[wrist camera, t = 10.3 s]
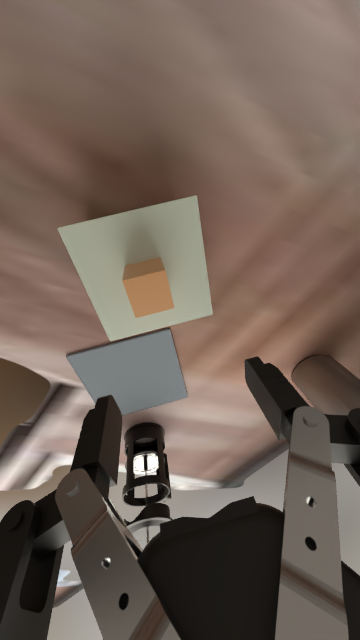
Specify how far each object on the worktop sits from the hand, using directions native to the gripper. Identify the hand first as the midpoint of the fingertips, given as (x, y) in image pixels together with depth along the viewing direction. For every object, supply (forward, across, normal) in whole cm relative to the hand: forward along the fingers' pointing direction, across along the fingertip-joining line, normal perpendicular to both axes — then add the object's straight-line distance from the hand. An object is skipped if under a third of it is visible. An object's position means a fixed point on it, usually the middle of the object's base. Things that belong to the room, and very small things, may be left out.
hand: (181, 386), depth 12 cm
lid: (+16, +1, -2) cm, 16 cm away
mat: (+22, +9, +19) cm, 30 cm away
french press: (+23, +12, +38) cm, 46 cm away
